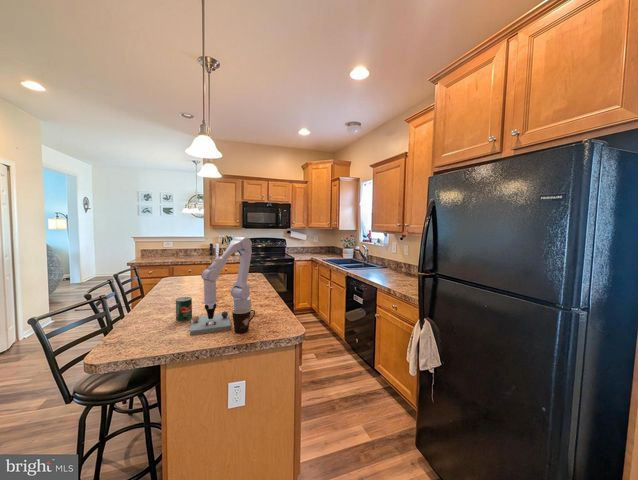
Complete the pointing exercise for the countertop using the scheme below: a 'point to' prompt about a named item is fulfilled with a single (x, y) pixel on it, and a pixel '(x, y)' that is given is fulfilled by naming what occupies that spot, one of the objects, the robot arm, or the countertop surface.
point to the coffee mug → (242, 320)
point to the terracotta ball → (195, 318)
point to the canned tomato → (183, 309)
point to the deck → (219, 325)
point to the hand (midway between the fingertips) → (210, 318)
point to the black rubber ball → (224, 314)
